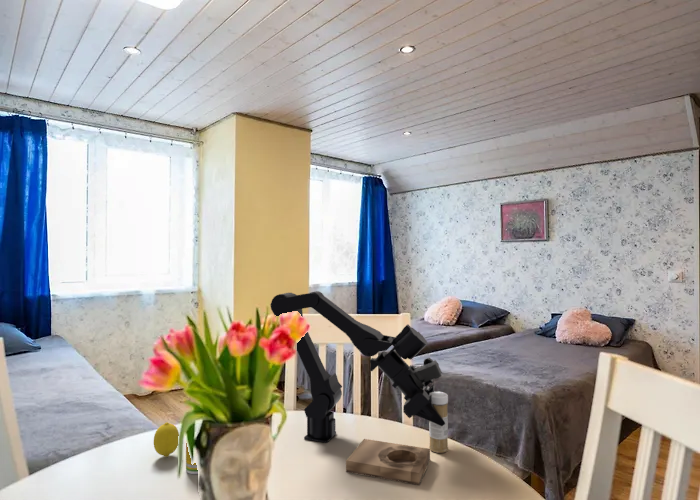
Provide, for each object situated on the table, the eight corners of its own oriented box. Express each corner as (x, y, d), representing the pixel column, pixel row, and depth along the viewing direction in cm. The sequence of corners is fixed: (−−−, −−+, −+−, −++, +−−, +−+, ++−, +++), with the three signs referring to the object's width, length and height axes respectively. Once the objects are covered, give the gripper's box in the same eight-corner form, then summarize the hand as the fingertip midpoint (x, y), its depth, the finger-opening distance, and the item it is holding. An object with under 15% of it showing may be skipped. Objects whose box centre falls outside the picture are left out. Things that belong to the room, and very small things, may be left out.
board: (346, 471, 94) (346, 460, 94) (364, 449, 106) (364, 438, 106) (420, 485, 89) (420, 473, 89) (431, 459, 100) (430, 448, 100)
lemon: (148, 460, 100) (148, 425, 100) (164, 450, 105) (164, 417, 105) (168, 463, 98) (168, 428, 99) (184, 453, 104) (184, 419, 104)
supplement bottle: (203, 475, 93) (203, 430, 93) (180, 473, 94) (180, 428, 94) (216, 464, 98) (216, 420, 98) (194, 462, 99) (194, 419, 99)
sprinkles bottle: (437, 444, 108) (436, 389, 109) (452, 450, 105) (451, 394, 105) (425, 449, 105) (424, 393, 106) (440, 455, 102) (439, 398, 102)
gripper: (417, 358, 98) (469, 412, 95) (424, 342, 116) (468, 387, 113) (383, 391, 99) (432, 445, 96) (395, 370, 117) (437, 415, 114)
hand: (444, 420), depth 105 cm, fingers open, 5 cm apart
